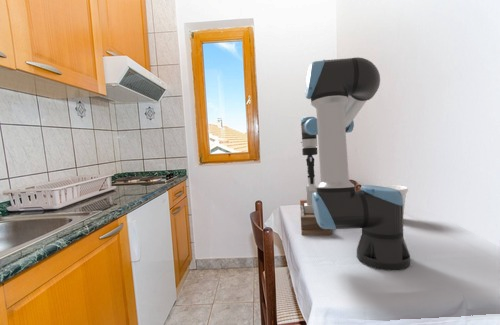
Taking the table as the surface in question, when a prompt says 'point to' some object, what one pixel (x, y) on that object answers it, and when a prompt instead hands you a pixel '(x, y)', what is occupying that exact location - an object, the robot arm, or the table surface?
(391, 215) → the robot arm
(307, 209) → the block
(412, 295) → the table surface
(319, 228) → the track
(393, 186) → the cup
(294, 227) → the table surface
